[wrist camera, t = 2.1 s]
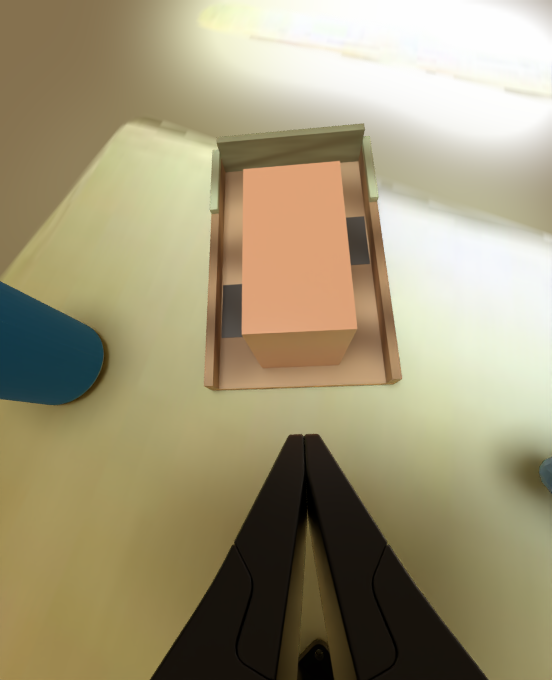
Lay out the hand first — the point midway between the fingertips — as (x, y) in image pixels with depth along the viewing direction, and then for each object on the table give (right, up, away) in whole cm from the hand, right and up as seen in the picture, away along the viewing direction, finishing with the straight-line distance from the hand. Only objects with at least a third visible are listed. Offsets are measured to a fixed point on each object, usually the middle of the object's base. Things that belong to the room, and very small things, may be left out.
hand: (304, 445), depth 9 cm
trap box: (+1, +9, +17) cm, 19 cm away
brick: (+1, +6, +15) cm, 16 cm away
